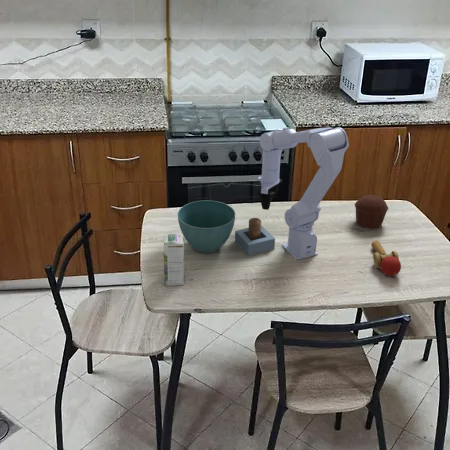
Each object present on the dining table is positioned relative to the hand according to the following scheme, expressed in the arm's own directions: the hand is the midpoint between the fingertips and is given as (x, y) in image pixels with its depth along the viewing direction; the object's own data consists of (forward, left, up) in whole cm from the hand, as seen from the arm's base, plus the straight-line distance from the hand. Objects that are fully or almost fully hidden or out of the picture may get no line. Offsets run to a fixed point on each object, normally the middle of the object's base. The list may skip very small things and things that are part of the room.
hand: (268, 204), depth 194 cm
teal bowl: (-2, +24, -10) cm, 26 cm away
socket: (-8, +9, -10) cm, 15 cm away
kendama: (-34, -23, -10) cm, 42 cm away
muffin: (-11, -35, -10) cm, 38 cm away
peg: (-8, +9, -8) cm, 15 cm away
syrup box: (-16, +40, -10) cm, 44 cm away
